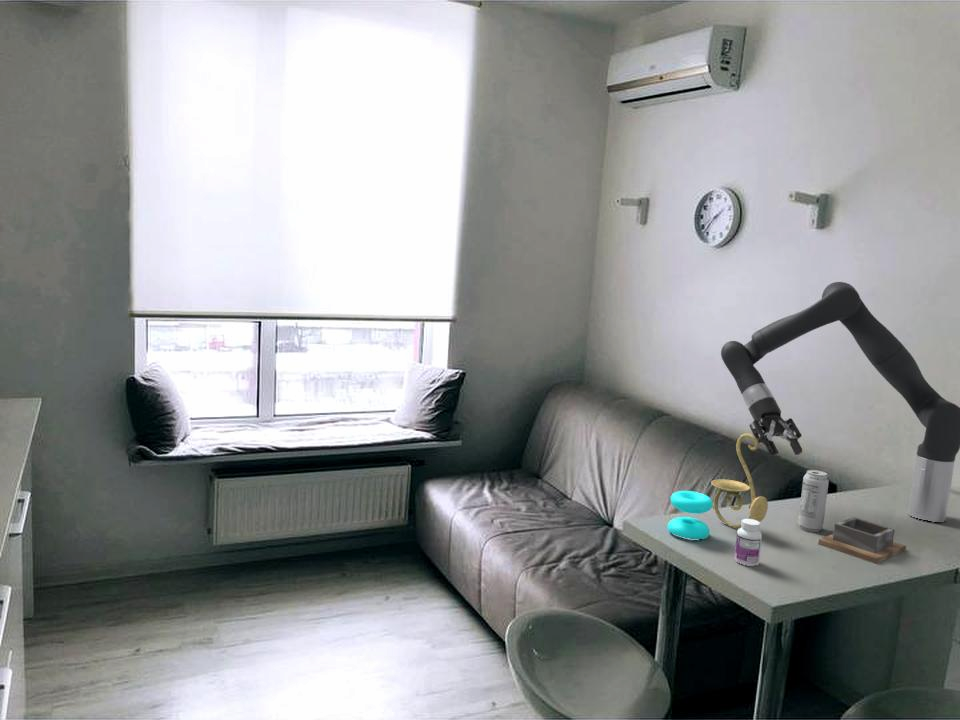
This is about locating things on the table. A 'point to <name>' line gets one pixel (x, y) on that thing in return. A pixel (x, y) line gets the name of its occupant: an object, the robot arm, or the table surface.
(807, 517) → the energy drink can
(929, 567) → the table surface
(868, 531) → the socket board
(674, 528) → the donuts
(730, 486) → the wall sconce
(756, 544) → the pill bottle
